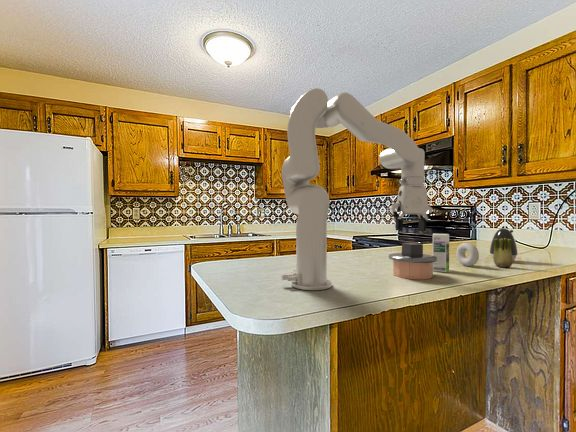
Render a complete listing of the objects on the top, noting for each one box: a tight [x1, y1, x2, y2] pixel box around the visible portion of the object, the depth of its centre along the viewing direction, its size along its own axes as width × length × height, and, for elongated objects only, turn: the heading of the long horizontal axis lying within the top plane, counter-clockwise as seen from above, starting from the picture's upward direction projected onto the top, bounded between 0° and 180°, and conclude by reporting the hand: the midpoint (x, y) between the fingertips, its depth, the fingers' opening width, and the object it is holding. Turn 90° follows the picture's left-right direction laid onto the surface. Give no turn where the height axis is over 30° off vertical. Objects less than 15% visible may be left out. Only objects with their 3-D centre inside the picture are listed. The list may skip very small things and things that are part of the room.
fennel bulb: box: [493, 238, 514, 269], centre depth 119 cm, size 6×5×12 cm
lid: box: [388, 242, 437, 263], centre depth 104 cm, size 16×16×6 cm
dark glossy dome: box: [489, 228, 518, 261], centre depth 133 cm, size 10×10×15 cm
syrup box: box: [432, 233, 450, 274], centre depth 112 cm, size 6×6×14 cm
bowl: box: [392, 260, 434, 281], centre depth 104 cm, size 13×13×6 cm
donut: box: [455, 242, 480, 267], centre depth 122 cm, size 10×4×10 cm, turn 15°
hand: (410, 230), depth 104 cm, fingers open, 9 cm apart
